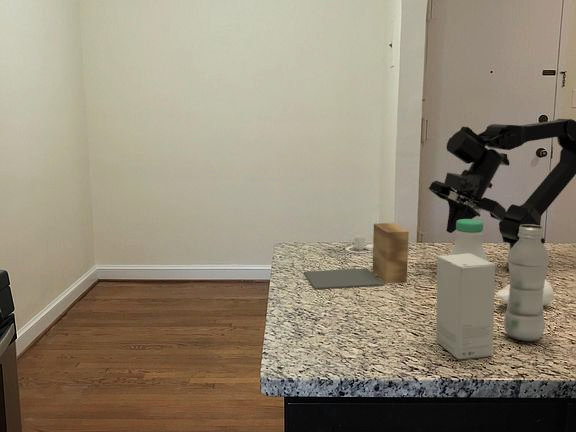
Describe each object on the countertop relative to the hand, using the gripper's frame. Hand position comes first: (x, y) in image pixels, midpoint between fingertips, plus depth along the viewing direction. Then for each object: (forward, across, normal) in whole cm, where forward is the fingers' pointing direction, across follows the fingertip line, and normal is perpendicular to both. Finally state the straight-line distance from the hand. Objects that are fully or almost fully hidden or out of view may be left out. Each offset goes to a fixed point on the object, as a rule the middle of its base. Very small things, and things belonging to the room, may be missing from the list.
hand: (448, 232), depth 136 cm
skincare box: (+20, +30, -23) cm, 43 cm away
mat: (+22, -12, -12) cm, 27 cm away
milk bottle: (+17, +24, -15) cm, 33 cm away
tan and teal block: (+16, -7, -3) cm, 17 cm away
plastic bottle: (+14, +33, -12) cm, 38 cm away
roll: (+9, +24, 0) cm, 25 cm away
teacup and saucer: (+14, -27, +9) cm, 32 cm away
